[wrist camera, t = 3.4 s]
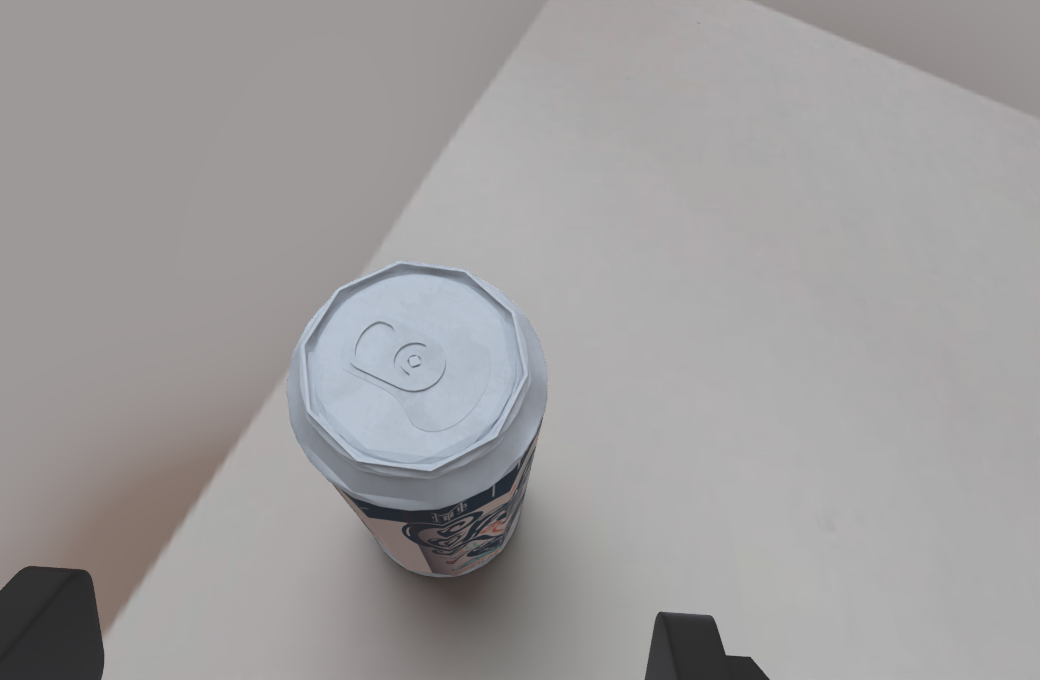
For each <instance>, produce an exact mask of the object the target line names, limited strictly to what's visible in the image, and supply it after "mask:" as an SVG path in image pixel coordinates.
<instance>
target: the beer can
mask: <svg viewBox="0 0 1040 680" xmlns="http://www.w3.org/2000/svg"><path fill="white" fill-rule="evenodd" d="M547 381H548V374H547V366H546V363H545V359H544V355H543V351H542V348H541V344H540V340H539V338H538V337H537V335H536V333H535V331H534V329H533V328H532V326H531V324H530V322H529V320H528V318H527V317H526V315H525V314H524V313H523V312H522V311H521V310H520V309H519V307H518V306H517V305H516V304H515V303H514V302H513V301H512V300H511V299H510V298H509V297H508V296H507V295H506V294H505V293H504V292H502V291H500V290H499V289H497V288H496V287H494V286H492V285H491V284H489V283H487V282H486V281H484V280H482V279H481V278H479V277H477V276H476V275H473V274H471V273H470V272H468V271H467V270H466V269H460V268H452V267H445V266H439V265H433V264H422V263H414V262H407V261H397V262H395V263H393V264H391V265H388V266H386V267H384V268H382V269H379V270H377V271H375V272H372V273H370V274H368V275H365V276H363V277H361V278H359V279H357V280H355V281H352V282H350V283H348V284H346V285H344V286H341V287H339V288H337V289H336V291H335V293H334V294H333V296H332V297H331V298H330V299H329V300H328V301H327V302H326V303H325V304H324V305H323V306H322V307H321V308H320V309H319V310H318V312H317V313H316V314H315V315H314V317H313V318H312V319H311V320H310V322H309V323H308V324H307V326H306V328H305V330H304V332H303V334H302V336H301V338H300V340H299V342H298V344H297V346H296V348H295V350H294V352H293V356H292V359H291V364H290V369H289V374H288V379H287V398H288V406H289V414H290V421H291V425H292V427H293V430H294V433H295V435H296V438H297V441H298V442H299V444H300V446H301V448H302V449H303V451H304V453H305V454H306V456H307V457H308V459H309V461H310V462H311V463H312V464H313V465H314V466H315V467H316V468H317V469H318V470H319V471H320V472H321V473H322V474H323V475H324V477H325V478H326V479H327V480H328V481H330V482H331V483H332V484H333V485H334V487H335V488H336V489H337V490H338V492H339V493H340V494H341V495H342V497H343V498H344V499H345V500H346V502H347V503H348V504H349V505H350V507H351V508H352V509H353V510H354V512H355V513H356V514H357V515H358V517H359V518H360V519H361V520H362V522H363V523H364V524H365V525H366V527H367V528H368V529H369V530H370V532H371V533H372V534H373V535H374V537H375V539H376V540H377V542H378V543H379V545H380V546H381V547H382V549H383V550H384V551H385V552H386V553H387V554H388V555H389V556H390V557H391V558H392V559H393V560H394V561H395V562H396V563H398V564H399V565H401V566H402V567H404V568H405V569H407V570H410V571H412V572H415V573H417V574H420V575H426V576H431V577H455V576H459V575H463V574H467V573H469V572H471V571H473V570H475V569H477V568H479V567H481V566H483V565H485V564H487V563H488V562H489V561H490V560H492V559H493V558H494V557H495V556H496V555H497V554H499V553H500V552H501V551H502V550H503V548H504V547H505V545H506V544H507V542H508V540H509V539H510V537H511V535H512V534H513V532H514V529H515V527H516V524H517V521H518V518H519V516H520V512H521V508H522V504H523V499H524V495H525V491H526V487H527V482H528V478H529V474H530V470H531V465H532V461H533V457H534V453H535V449H536V444H537V440H538V436H539V432H540V427H541V423H542V419H543V415H544V412H545V408H546V403H547Z"/></svg>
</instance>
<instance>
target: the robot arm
mask: <svg viewBox="0 0 1040 680" xmlns="http://www.w3.org/2000/svg"><path fill="white" fill-rule="evenodd" d="M103 668H104V649H103V642H102V636H101V630H100V624H99V618H98V612H97V605H96V599H95V593H94V586H93V581H92V578H91V576H90V574H89V573H88V572H87V571H86V570H80V569H66V568H52V567H37V566H28V567H25V568H23V569H22V570H20V571H19V572H18V573H17V574H16V575H15V576H14V577H13V578H12V579H11V580H10V581H9V582H8V583H7V584H6V585H5V587H3V589H2V590H1V591H0V680H101V678H102V674H103ZM645 680H769V678H768V677H767V676H766V675H765V674H764V672H763V671H762V670H761V669H760V668H759V667H758V665H757V664H756V663H755V662H754V661H753V659H752V658H751V657H742V656H727V655H726V654H725V651H724V648H723V645H722V641H721V638H720V635H719V632H718V629H717V625H716V623H715V620H714V618H713V617H712V616H710V615H698V614H684V613H669V612H659V613H658V614H657V616H656V620H655V624H654V630H653V636H652V641H651V647H650V653H649V658H648V664H647V670H646V676H645Z"/></svg>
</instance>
